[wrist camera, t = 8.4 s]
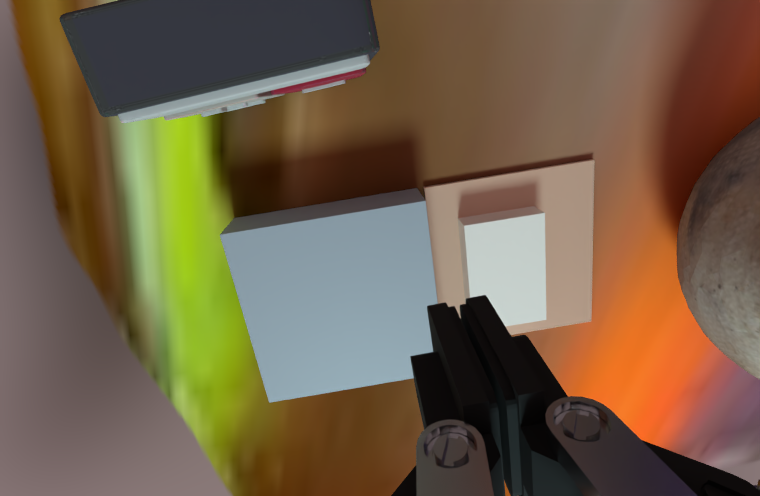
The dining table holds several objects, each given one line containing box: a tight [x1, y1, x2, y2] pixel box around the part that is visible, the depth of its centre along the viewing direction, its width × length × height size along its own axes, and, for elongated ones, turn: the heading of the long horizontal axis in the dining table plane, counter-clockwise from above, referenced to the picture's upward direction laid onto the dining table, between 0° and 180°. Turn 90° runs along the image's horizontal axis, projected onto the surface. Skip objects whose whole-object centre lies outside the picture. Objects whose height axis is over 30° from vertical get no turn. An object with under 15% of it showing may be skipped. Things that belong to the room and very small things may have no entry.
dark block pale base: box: [60, 0, 380, 123], centre depth 23 cm, size 11×4×15 cm, turn 103°
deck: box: [220, 188, 438, 402], centre depth 34 cm, size 14×14×4 cm
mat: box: [424, 159, 594, 335], centre depth 36 cm, size 14×13×1 cm
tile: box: [458, 206, 546, 326], centre depth 35 cm, size 9×6×2 cm, turn 8°
